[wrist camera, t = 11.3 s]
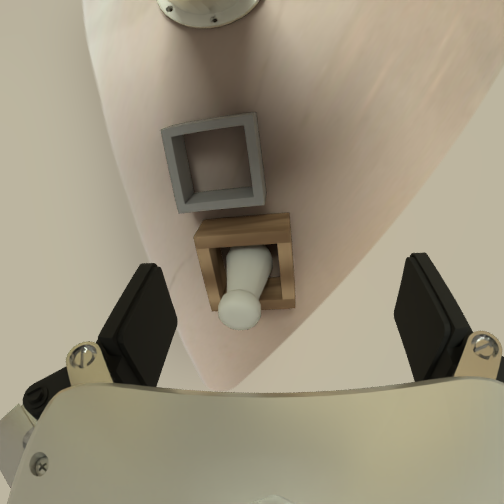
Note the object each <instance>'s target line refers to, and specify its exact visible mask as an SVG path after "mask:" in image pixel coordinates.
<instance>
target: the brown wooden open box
mask: <svg viewBox="0 0 504 504" xmlns="http://www.w3.org/2000/svg"><path fill="white" fill-rule="evenodd" d="M193 238H194V242H195V246H196V251H197V255H198V259H199V263H200V267H201V271H202V275H203V279H204V283H205V287H206V291H207V294H208V298H209V302H210V306H211V310H212V311H218V305H219V303H220V301H221V299H222V297H223V295H224V294H226V293H227V276H226V272H225V267H224V262H223V257H222V252H221V247H234V246H248V245H262V244H277V247H278V257H279V267H280V277H272V278H268V279H267V282H266V284H265V286H264V289H263V291H262V293H261V295H260V298H259V302H260V304H261V310H270V309H290V308H295V280H294V266H293V252H292V239H291V227H290V216H289V213H276V214H263V215H251V216H239V217H228V218H217V219H206V220H203V222H202V223H201V225H200V227H199V229H198V230H197V232H196V234H195V236H194V237H193Z"/></svg>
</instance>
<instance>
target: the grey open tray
mask: <svg viewBox="0 0 504 504" xmlns="http://www.w3.org/2000/svg"><path fill="white" fill-rule="evenodd" d="M242 125H244V130H245V137H246V144H247V151H248V158H249V165H250V172H251V180H252V187H242V188H233V189H223V190H214V191H206V192H198V193H194V190H193V185H192V180H191V175H190V169H189V164H188V159H187V154H186V149H185V143H184V138H183V135H184V134H189V133H195V132H201V131H207V130H213V129H220V128H227V127H234V126H242ZM161 134H162V139H163V145H164V150H165V154H166V159H167V164H168V169H169V174H170V178H171V183H172V187H173V192H174V196H175V201H176V205H177V209H178V213H179V214H180V213H189V212H198V211H207V210H217V209H228V208H238V207H249V206H261V205H264V204H265V198H266V186H265V178H264V170H263V162H262V154H261V146H260V139H259V131H258V123H257V116H256V112H252V113H244V114H236V115H229V116H222V117H215V118H209V119H203V120H197V121H192V122H187V123H181V124H176V125H172V126H169V127H167V128H164V129H161Z"/></svg>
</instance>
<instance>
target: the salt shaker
mask: <svg viewBox="0 0 504 504" xmlns="http://www.w3.org/2000/svg"><path fill="white" fill-rule="evenodd" d="M272 268H273V258H272V255H271V253H270V251H269V249H268V248H267V247H266V246H265V245H264V244H262V245H248V246H234V247H231V249H230V251H229V253H228V255H227V293H226V294H224V295H223V297H222V299H221V301H220V303H219V305H218V314H219V319H220V320H221V321H222V323H223V324H224V325H226V326H228V327H229V328H231V329H235V330H248V329H250V328H252V327H254V326H255V325H256V324H257V322H258V321H259V319H260V317H261V304H260V302H259V298H260V295H261V293H262V291H263V289H264V286H265V284H266V282H267V279H268V277H269V275H270V272H271V270H272Z"/></svg>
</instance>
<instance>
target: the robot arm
mask: <svg viewBox="0 0 504 504" xmlns="http://www.w3.org/2000/svg"><path fill="white" fill-rule="evenodd" d="M259 1H260V0H157V3H158V5H159V7H160V9H161V10H162V11H163V12H164V13H165V14H166V15H167V16H168V17H169V18H171V19H172V20H174V21H176V22H177V23H179V24H182V25H185V26H188V27H194V28H213V27H220V26H223V25H226V24H230V23H232V22H234V21H236V20H238V19H240V18H241V17H243V16H244V15H246V14H247V13H249V12H250V11H251V10H252V9H253V8H254V7H255V6H256V5H257V3H258V2H259ZM171 9H173V10H172V11H171ZM170 11H171V12H170ZM215 19H217V20H218V21H217V22H216V23H214V20H215ZM394 319H395V322H396V325H397V328H398V330H399V333H400V336H401V339H402V342H403V345H404V348H405V351H406V354H407V358H408V361H409V364H410V367H411V371H412V374H413V377H414V380H415V382H411V383H404V384H396V385H388V386H379V387H371V388H362V389H350V390H336V391H321V392H301V393H300V392H298V393H235V392H233V393H232V392H211V391H195V390H181V389H171V388H159V387H156V386H157V383H158V380H159V377H160V374H161V371H162V368H163V365H164V362H165V359H166V356H167V353H168V350H169V347H170V344H171V341H172V338H173V336H174V333H175V330H176V327H177V316H176V313H175V310H174V307H173V304H172V301H171V298H170V295H169V292H168V288H167V285H166V282H165V279H164V276H163V272H162V269H161V268H160V267H157V265H156V264H155V263H146V264H145V263H144V264H140V266H139V267H138V269H137V270H136V272H135V274H134V275H133V277H132V279H131V280H130V282H129V284H128V285H127V287H126V289H125V290H124V292H123V294H122V296H121V297H120V299H119V300H118V302H117V304H116V306H115V307H114V309H113V311H112V312H111V314H110V316H109V318H108V319H107V321H106V323H105V325H104V327H103V328H102V330H101V332H100V334H99V336H98V340H97V342H96V343H94V342H90V341H88V342H82V343H79V344H78V345H76V346H74V347H73V348H72V349H71V350H70V352H69V353H68V355H67V357H66V367H64V368H62V369H61V370H59V371H57V372H55V373H53V374H51V375H49V376H48V377H46V378H44V379H42V380H40V381H38V382H36V383H34V384H33V385H31V386H30V387H29V388H28V389H27V390H26V392H25V394H24V397H23V405H22V406H20V404H18V405H17V406H15V407H14V408H13V409H12V410H11V411H10V412H9V413H8V414H7V415H6V416H4V417H3V418H2V419H1V420H0V470H1V472H2V474H3V476H4V478H5V479H6V481H7V483H8V485H9V486H10V488H11V491H10V495H9V498H8V502H7V504H504V357H503V356H502V346H501V343H500V342H499V340H498V339H497V338H496V337H495V336H494V335H492V334H490V333H489V332H485V331H476V332H473V331H472V329H471V328H470V326H469V324H468V322H467V320H466V318H465V317H464V315H463V313H462V311H461V309H460V307H459V306H458V304H457V302H456V300H455V299H454V297H453V295H452V294H451V292H450V290H449V288H448V287H447V285H446V284H445V282H444V280H443V279H442V277H441V275H440V274H439V272H438V271H437V269H436V267H435V266H434V264H433V263H432V261H431V260H430V258H429V257H428V255H427V254H426V253H412V254H411V255H410V257H407V258H406V261H405V266H404V271H403V276H402V280H401V285H400V289H399V294H398V297H397V302H396V306H395V310H394Z"/></svg>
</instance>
